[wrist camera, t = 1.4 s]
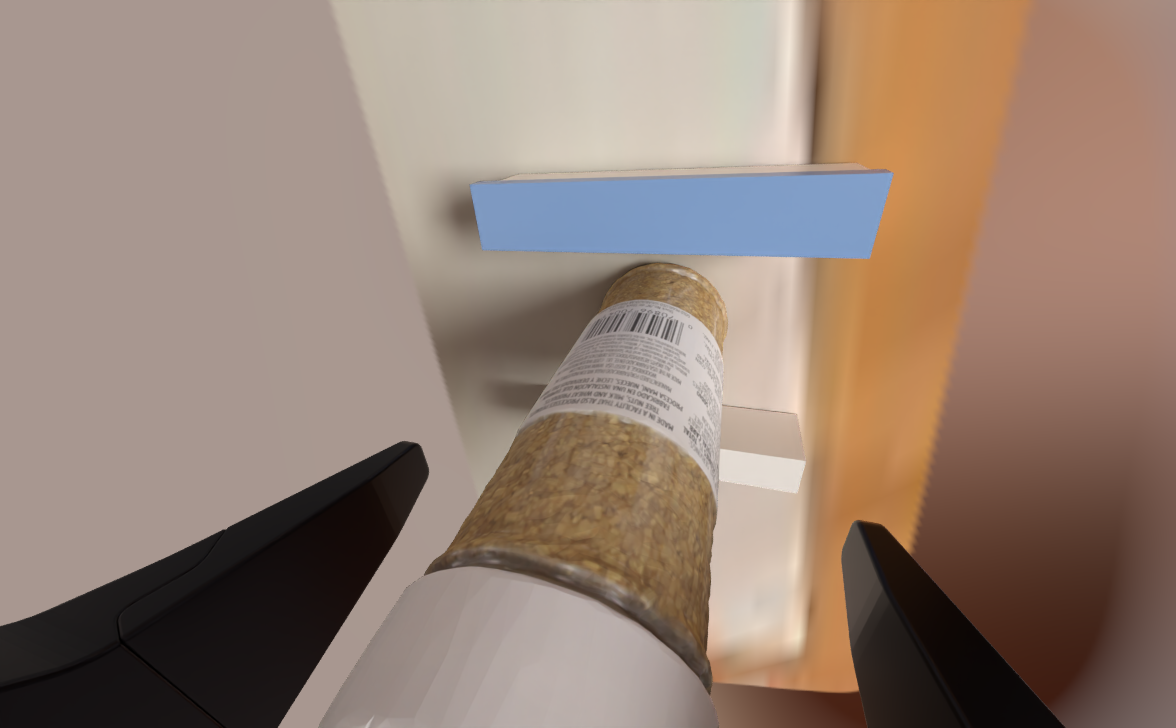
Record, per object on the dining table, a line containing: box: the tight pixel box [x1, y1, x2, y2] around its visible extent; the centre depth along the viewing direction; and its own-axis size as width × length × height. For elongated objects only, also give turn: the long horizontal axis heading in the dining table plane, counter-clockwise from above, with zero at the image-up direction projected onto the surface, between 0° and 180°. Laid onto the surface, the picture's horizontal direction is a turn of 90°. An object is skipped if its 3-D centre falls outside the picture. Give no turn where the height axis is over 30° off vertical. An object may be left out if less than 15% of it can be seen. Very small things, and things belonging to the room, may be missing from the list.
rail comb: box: [470, 163, 893, 493], centre depth 12 cm, size 19×10×3 cm, turn 4°
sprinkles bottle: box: [318, 263, 728, 728], centre depth 10 cm, size 5×5×13 cm
